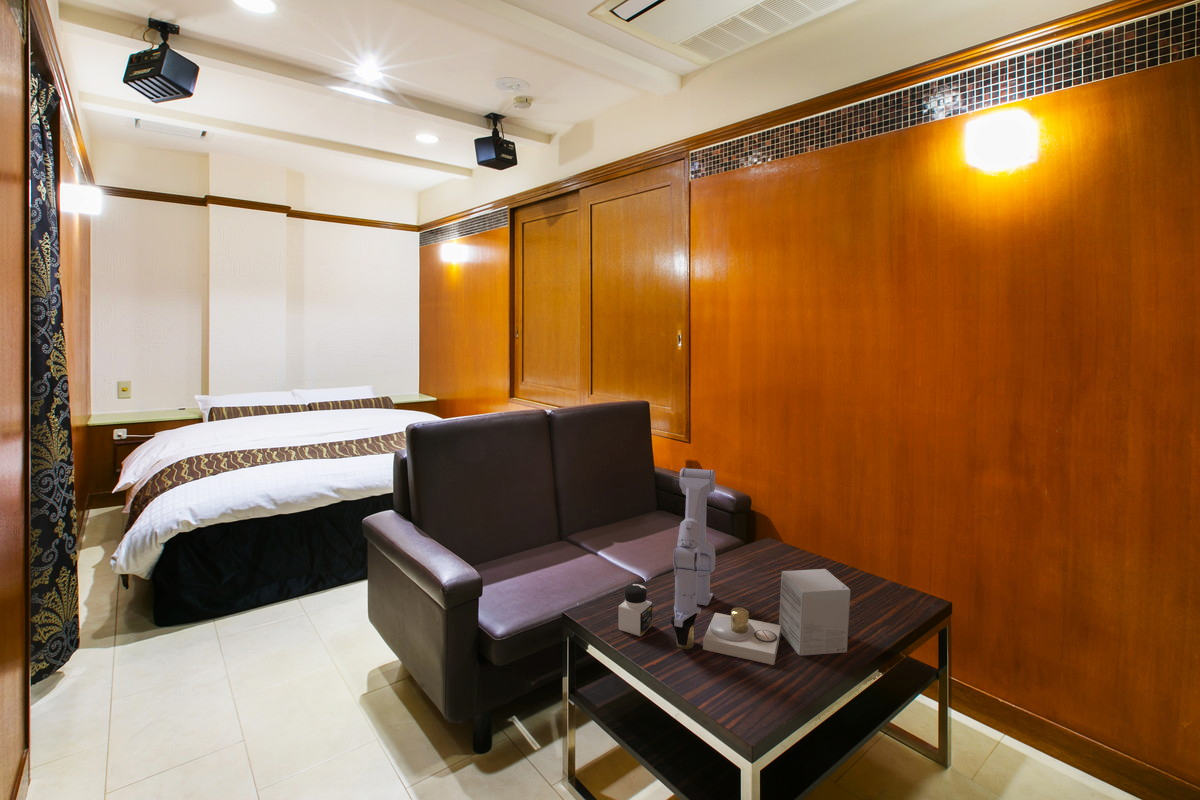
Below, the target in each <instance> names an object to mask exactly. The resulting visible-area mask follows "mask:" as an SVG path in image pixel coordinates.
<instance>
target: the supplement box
mask: <svg viewBox="0 0 1200 800" xmlns="http://www.w3.org/2000/svg"><path fill="white" fill-rule="evenodd" d="M779 600H780V601H779V614H778V615H779V618H778V619H779V620H778V625H781V634H782V636H783V637H784V639H785V640H786V641H787V642H788V644H789V645H790V646H791V647H792V649H793V650H794V651H795V652H796V654H797V655H799V656H813V655H825V654H830V655H831V654H840V653H847V652H848V639H849V638H848V637H849V622H850V620H849V619H850V605H851V604H850V602H851V601H850V600H851V589H850V588H849V587H848V586H847V585H846V584H845V583H843V582H842V581H841V580H839V579H838V578H837V577H836V576H835V575H833V573H831V572H830V571H829V570H827V569H826V568H819V569H818V568H817V569H816V568H815V569H803V570H802V569H801V570H782V571H781V578H780V597H779Z"/></svg>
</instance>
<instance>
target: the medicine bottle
mask: <svg viewBox="0 0 1200 800" xmlns="http://www.w3.org/2000/svg"><path fill="white" fill-rule="evenodd" d="M647 595H648V592H647V588H646V587H645V586H644V585H642V584H638V583H637V584H636V583H633V584H629V585H627V586H626V587H625V588H624V601H623V602H622V603H620V604H619V605H618V629H619V631H622V632H625V633H629V634H630V635H634V636H638V637H642V636H643V635H644V634H645V633H646V632H647V631H648V630H649V629H650V628H651V627H652V626H653V602H652V601H650V600H647V599H648V598H647Z"/></svg>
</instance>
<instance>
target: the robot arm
mask: <svg viewBox="0 0 1200 800" xmlns="http://www.w3.org/2000/svg"><path fill="white" fill-rule="evenodd" d="M678 482H679V488H680V489H681V493H682V494H683V495H685V511H684V513H685V514H684V515H685V516H684V519H683V520H682V521H681V522H680V524H679V530H678V535H677V536H678V537H677V544H676V547H674V550H673V555H672V556H673V557H672V562H673V563H672V564H673V575H674V576H675V578H674V582H675V583H674V604H673V611H674V616H671V618H670V624H671V626H672V627H673V629H674V632H675V636H677V641H678V644H680V645H684V646H686V644H687V641H688V636H689V631H690V628H691V626H692V625H693V627H694V625H695V621H696V618H697V616H698V614H701V611H702V608H701V607H698V605H702V606H706V607H708V605H709V604H710V602H711V599H712V598H713V596H714V593H713V592H710V591H711V573H713V572H714V571H715V568H716V548H715V546H714V545H713V544H712V543H711V542H710V541H708V540H707V501H708V500H707V499H708V498H707V497H709V496H710V495H711V493H713V492H715V491H716V471H715V470H714V469H700V468H687V467H682V468H681V469H680V471H679V481H678Z"/></svg>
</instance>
